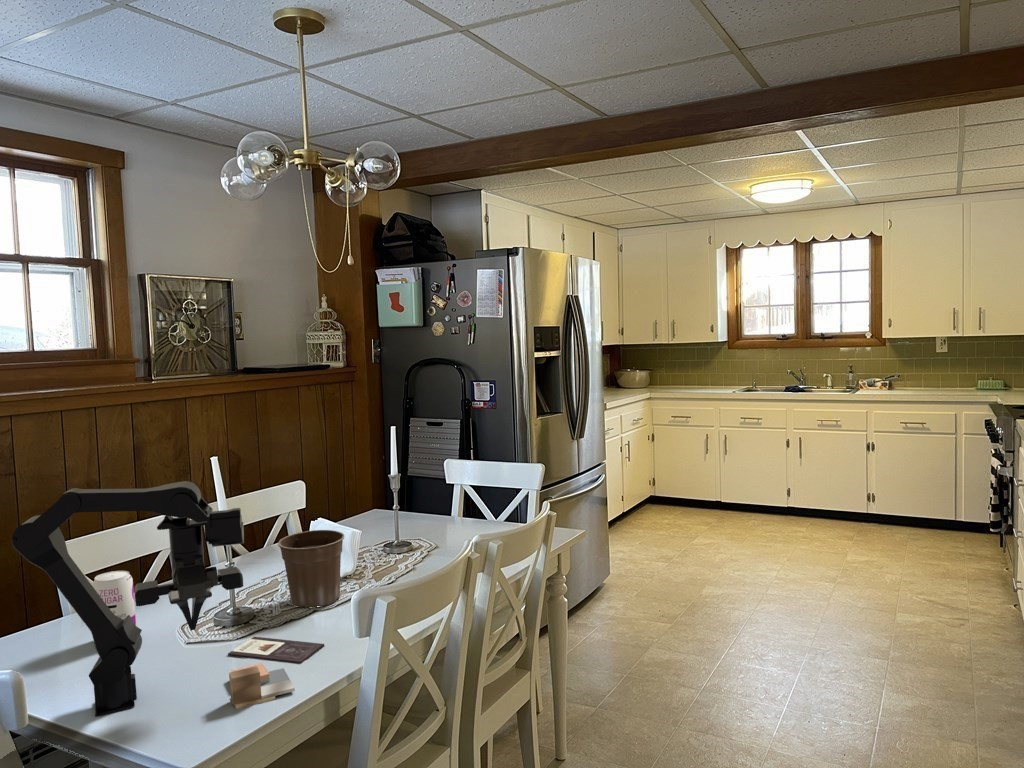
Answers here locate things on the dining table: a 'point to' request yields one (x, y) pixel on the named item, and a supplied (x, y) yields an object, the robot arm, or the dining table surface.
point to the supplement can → (117, 592)
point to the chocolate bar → (276, 650)
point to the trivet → (276, 676)
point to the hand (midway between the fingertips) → (192, 629)
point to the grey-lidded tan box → (254, 686)
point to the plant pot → (313, 566)
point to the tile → (263, 672)
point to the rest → (253, 702)
